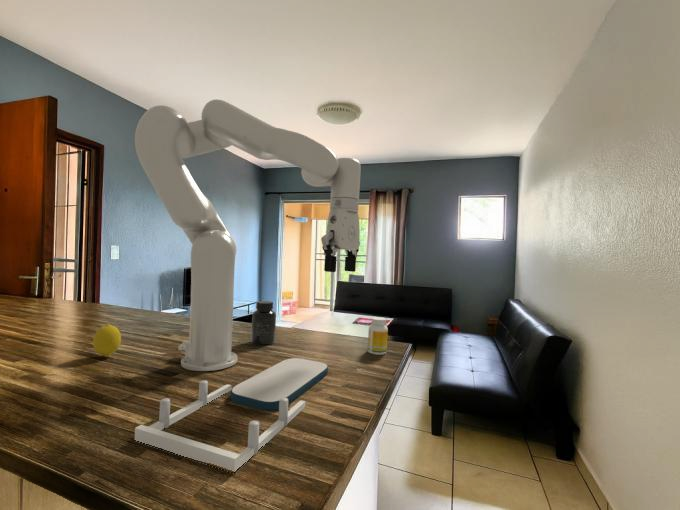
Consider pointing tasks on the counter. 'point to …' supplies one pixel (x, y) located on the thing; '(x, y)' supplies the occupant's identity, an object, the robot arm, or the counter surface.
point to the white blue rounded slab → (279, 383)
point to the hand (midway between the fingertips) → (340, 271)
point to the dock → (204, 451)
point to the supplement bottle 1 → (263, 324)
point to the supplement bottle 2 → (377, 336)
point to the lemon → (107, 340)
